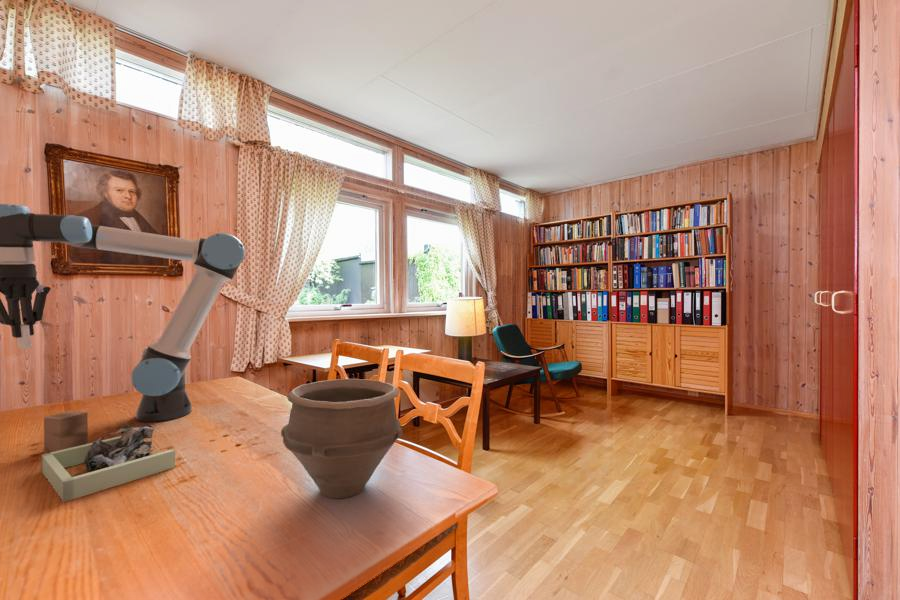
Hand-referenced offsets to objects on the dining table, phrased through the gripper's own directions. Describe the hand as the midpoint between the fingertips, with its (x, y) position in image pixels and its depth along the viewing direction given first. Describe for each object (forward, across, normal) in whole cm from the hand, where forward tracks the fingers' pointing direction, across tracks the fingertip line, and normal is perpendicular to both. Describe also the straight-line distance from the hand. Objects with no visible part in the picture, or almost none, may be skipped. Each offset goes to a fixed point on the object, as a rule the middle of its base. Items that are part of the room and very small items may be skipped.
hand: (24, 347), depth 107 cm
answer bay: (+22, +8, +43) cm, 49 cm away
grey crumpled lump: (+23, +3, +42) cm, 48 cm away
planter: (+20, -2, +100) cm, 102 cm away
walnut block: (+25, +3, +19) cm, 31 cm away
